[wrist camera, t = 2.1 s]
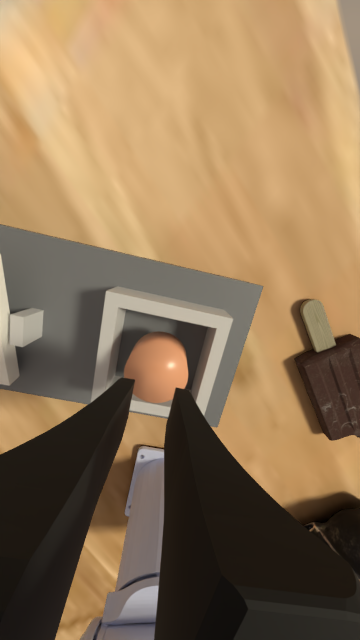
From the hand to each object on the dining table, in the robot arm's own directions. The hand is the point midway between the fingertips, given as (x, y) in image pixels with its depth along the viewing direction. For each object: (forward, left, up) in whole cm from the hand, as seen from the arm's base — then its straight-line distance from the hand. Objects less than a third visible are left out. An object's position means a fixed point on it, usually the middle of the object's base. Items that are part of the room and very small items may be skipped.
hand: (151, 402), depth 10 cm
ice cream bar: (0, -16, -10) cm, 19 cm away
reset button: (0, 0, -5) cm, 5 cm away
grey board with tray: (0, +6, -9) cm, 11 cm away
